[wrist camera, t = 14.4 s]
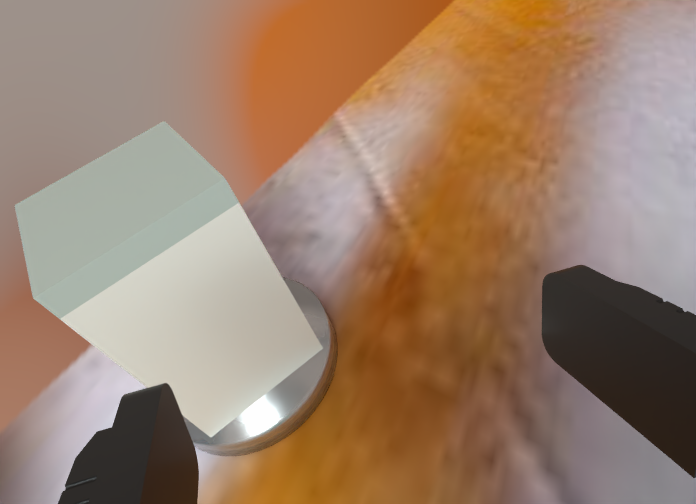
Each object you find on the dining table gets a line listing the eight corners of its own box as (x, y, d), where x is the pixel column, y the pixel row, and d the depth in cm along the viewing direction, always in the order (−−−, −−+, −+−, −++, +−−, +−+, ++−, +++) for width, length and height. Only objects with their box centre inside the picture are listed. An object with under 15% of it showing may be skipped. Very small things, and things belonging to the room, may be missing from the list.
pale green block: (263, 279, 24) (164, 120, 17) (323, 348, 20) (224, 177, 13) (167, 349, 23) (14, 205, 16) (210, 437, 19) (33, 297, 12)
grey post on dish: (283, 267, 27) (227, 168, 22) (373, 365, 21) (327, 261, 16) (149, 362, 25) (50, 277, 19) (207, 502, 19) (87, 435, 13)
